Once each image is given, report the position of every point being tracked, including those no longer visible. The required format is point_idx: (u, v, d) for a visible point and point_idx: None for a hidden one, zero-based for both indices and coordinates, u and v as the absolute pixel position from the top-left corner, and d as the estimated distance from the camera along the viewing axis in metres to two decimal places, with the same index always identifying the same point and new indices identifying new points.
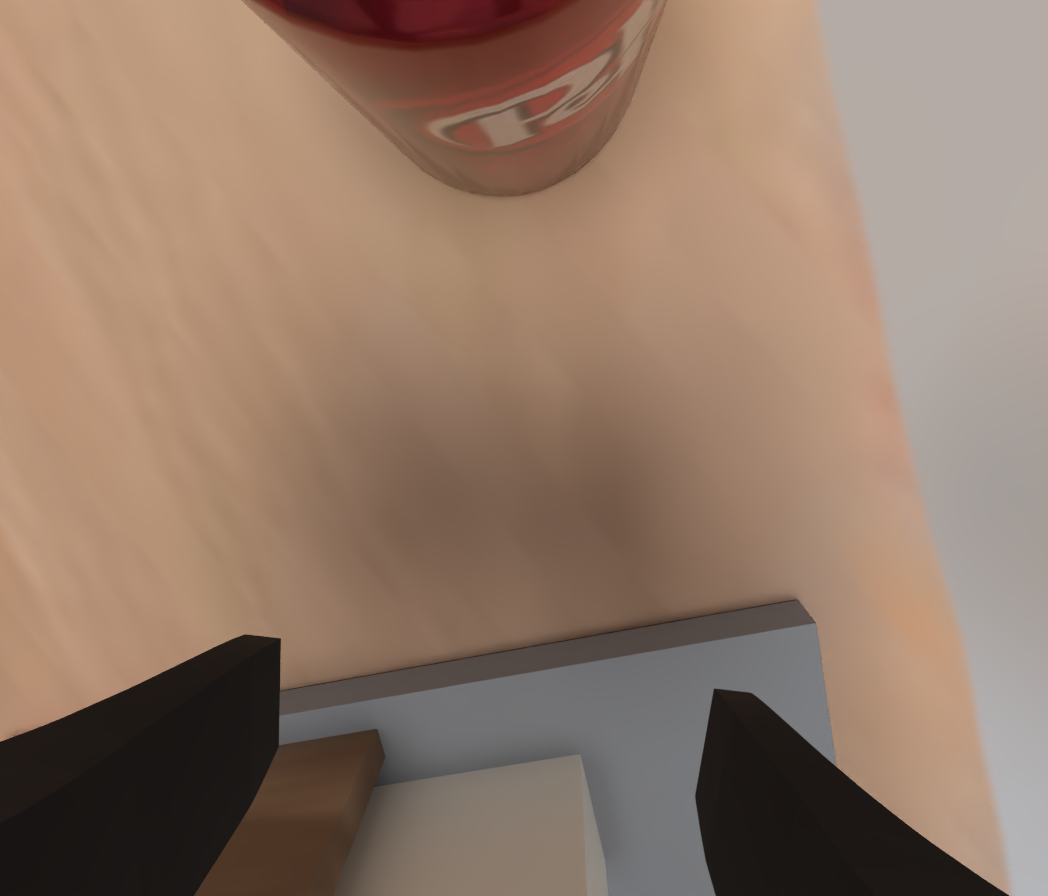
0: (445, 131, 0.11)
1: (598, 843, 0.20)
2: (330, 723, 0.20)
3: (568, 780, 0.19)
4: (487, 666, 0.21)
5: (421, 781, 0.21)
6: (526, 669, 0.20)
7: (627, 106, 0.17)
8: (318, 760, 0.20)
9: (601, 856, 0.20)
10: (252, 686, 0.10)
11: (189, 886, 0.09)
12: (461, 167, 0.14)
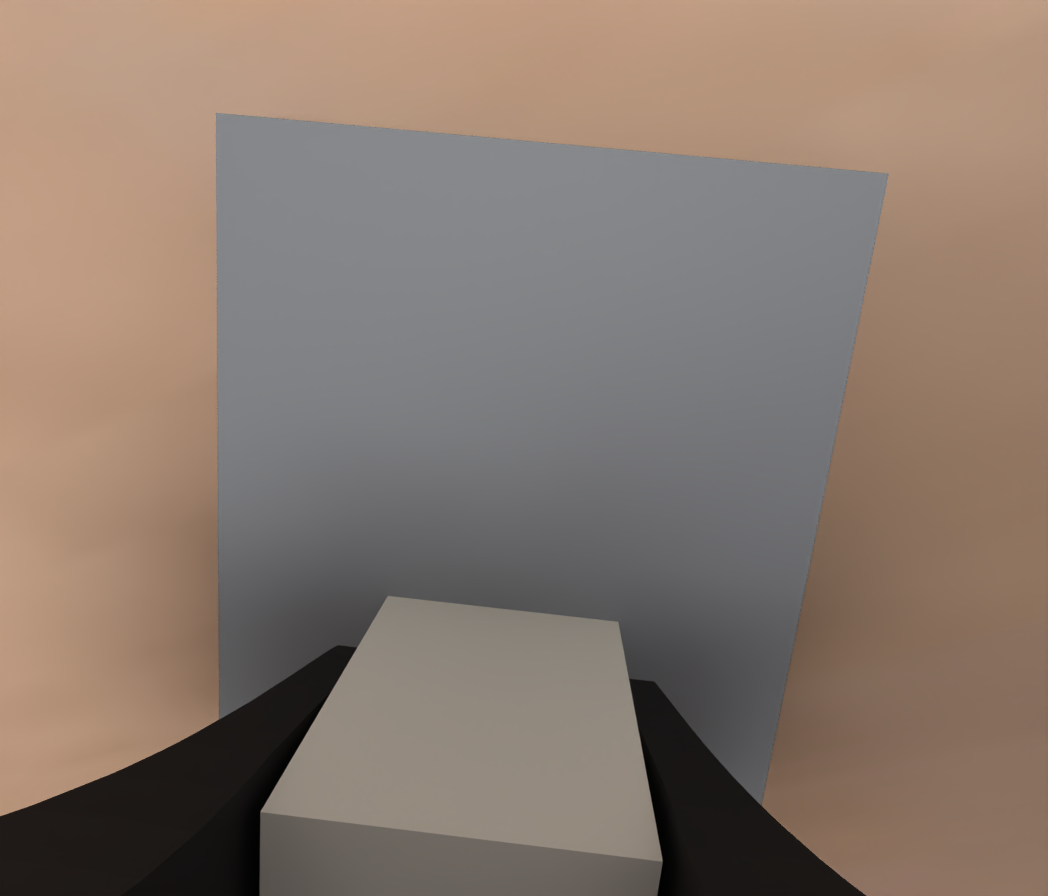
0: None
1: (541, 631, 0.11)
2: None
3: None
4: None
5: None
6: (224, 625, 0.12)
7: None
8: None
9: (570, 634, 0.11)
10: None
11: None
12: None
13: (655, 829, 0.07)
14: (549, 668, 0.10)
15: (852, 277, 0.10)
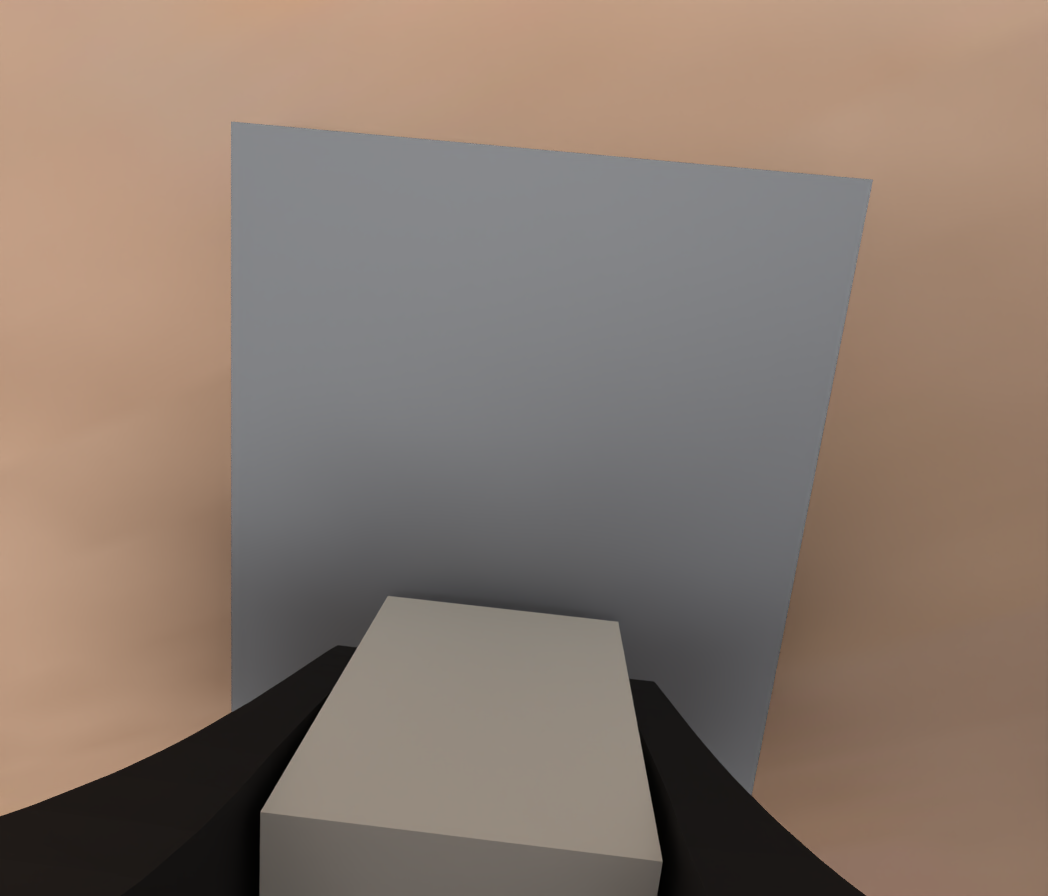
0: None
1: (541, 631, 0.11)
2: None
3: None
4: None
5: None
6: (237, 613, 0.12)
7: None
8: None
9: (570, 634, 0.11)
10: None
11: None
12: None
13: None
14: (549, 668, 0.10)
15: (838, 278, 0.10)
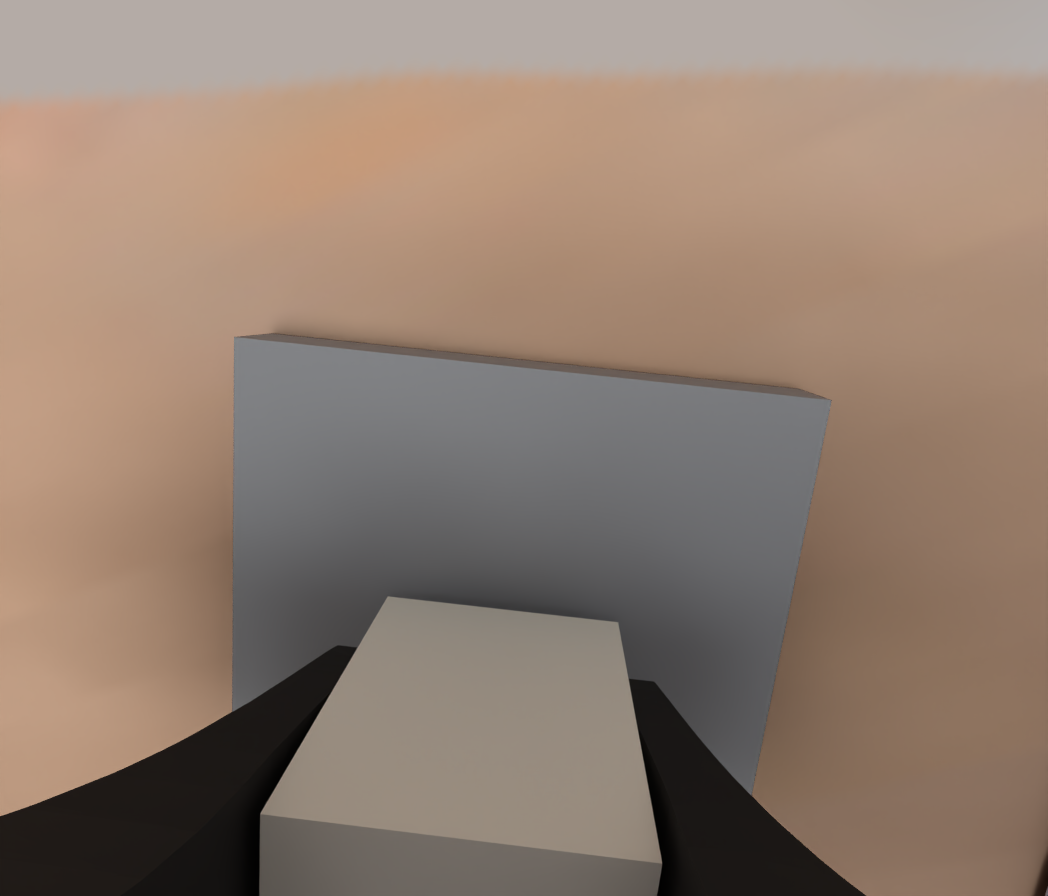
0: None
1: (540, 631, 0.11)
2: None
3: None
4: None
5: None
6: None
7: None
8: None
9: (570, 635, 0.11)
10: None
11: None
12: None
13: (655, 832, 0.07)
14: (549, 669, 0.10)
15: (800, 486, 0.11)
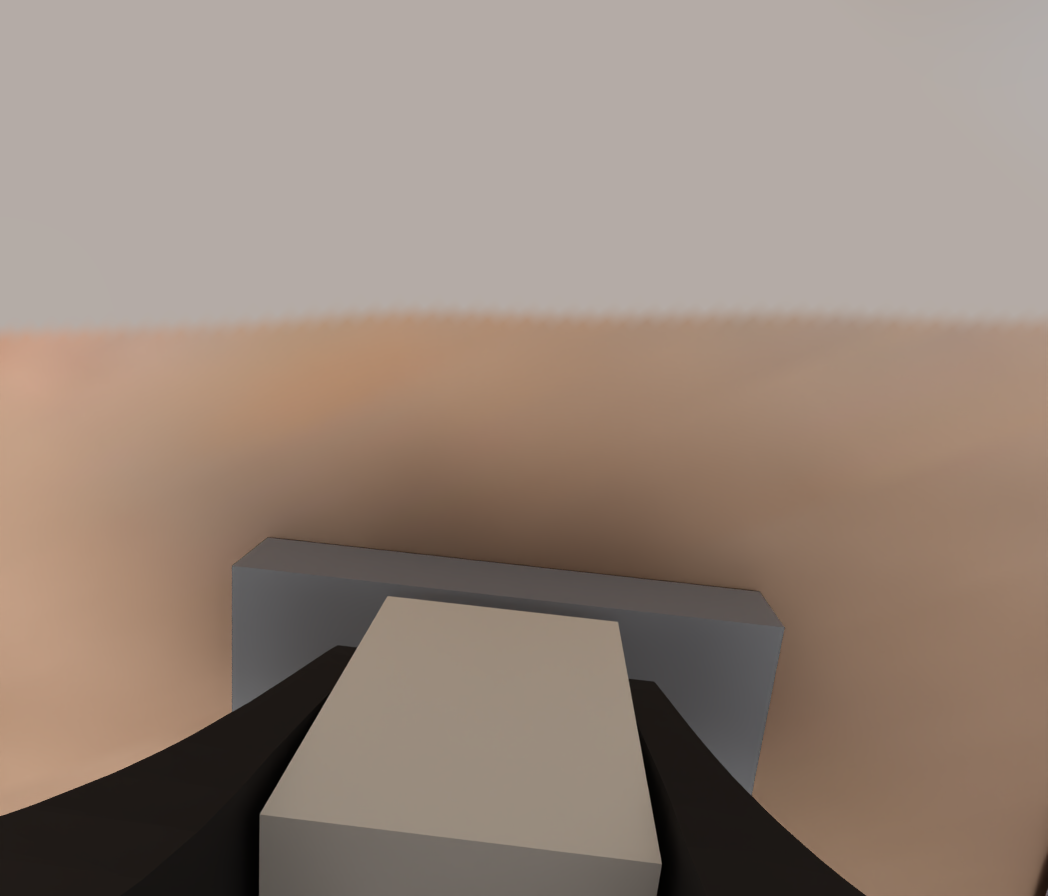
0: None
1: (540, 631, 0.11)
2: None
3: None
4: None
5: None
6: None
7: None
8: None
9: (570, 634, 0.11)
10: None
11: None
12: None
13: None
14: (549, 669, 0.10)
15: (757, 701, 0.12)
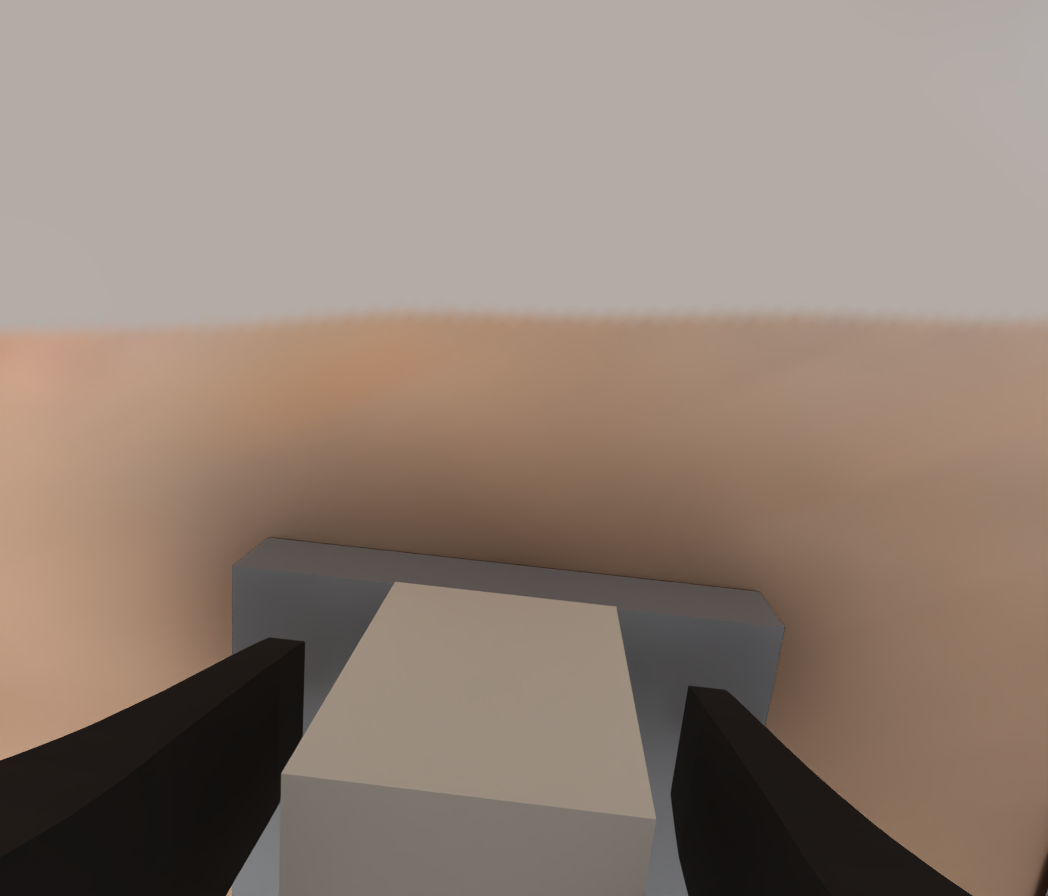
0: None
1: (542, 614, 0.11)
2: None
3: None
4: None
5: None
6: None
7: None
8: None
9: (570, 617, 0.11)
10: (279, 689, 0.10)
11: (219, 890, 0.09)
12: None
13: None
14: (550, 648, 0.10)
15: (757, 701, 0.12)
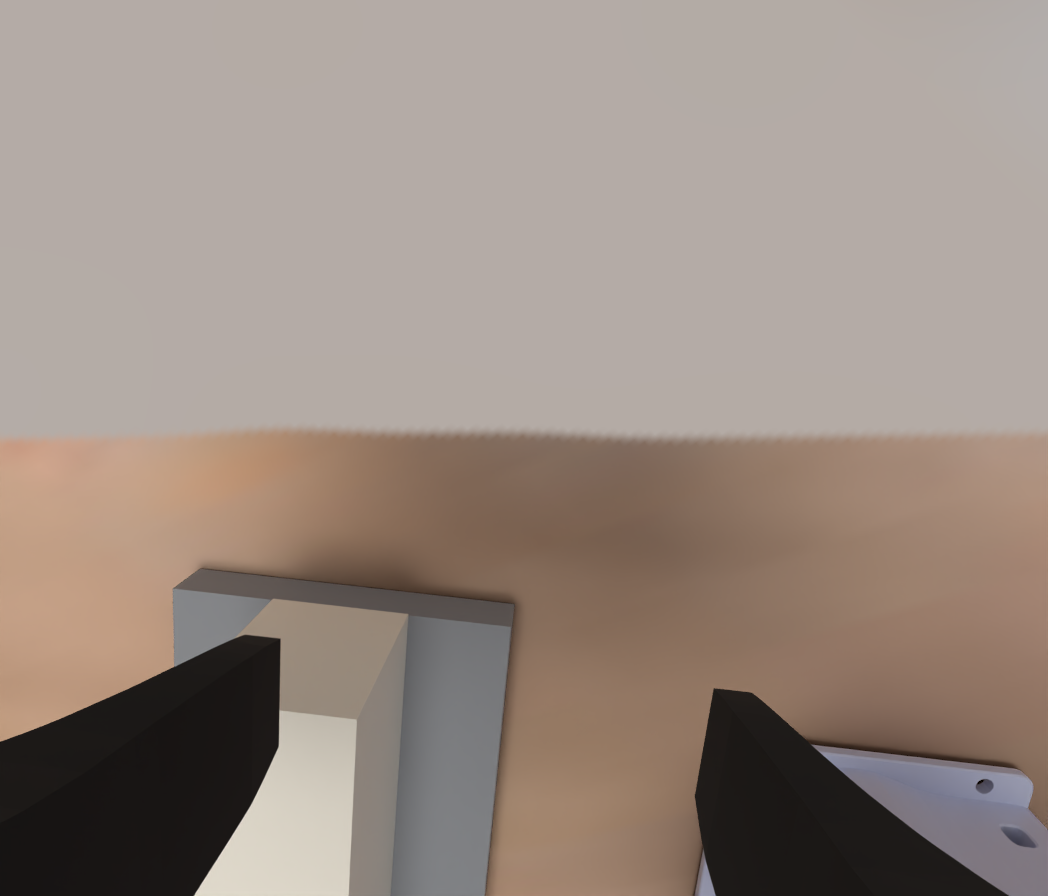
0: None
1: (357, 619, 0.19)
2: None
3: None
4: None
5: None
6: None
7: None
8: None
9: (374, 621, 0.19)
10: (252, 686, 0.10)
11: (189, 886, 0.09)
12: None
13: (362, 709, 0.15)
14: (350, 639, 0.17)
15: (498, 672, 0.19)
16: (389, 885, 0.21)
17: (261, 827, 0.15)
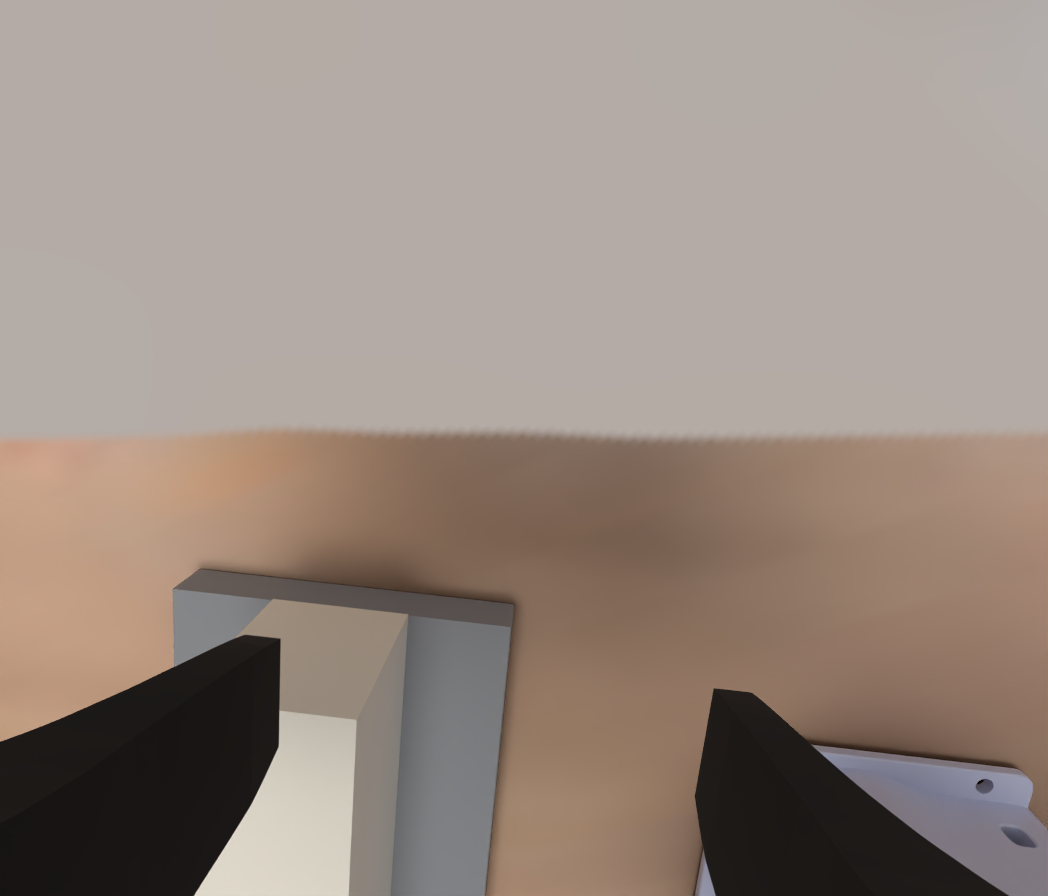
0: None
1: (357, 619, 0.19)
2: None
3: None
4: None
5: None
6: None
7: None
8: None
9: (374, 621, 0.19)
10: (252, 686, 0.10)
11: (189, 886, 0.09)
12: None
13: (362, 709, 0.15)
14: (350, 639, 0.17)
15: (498, 672, 0.19)
16: (389, 885, 0.21)
17: (260, 828, 0.15)
